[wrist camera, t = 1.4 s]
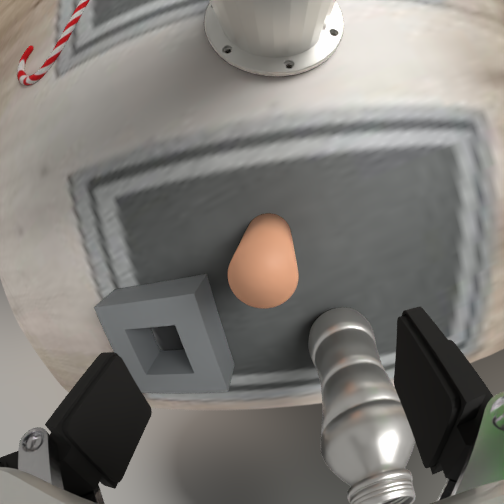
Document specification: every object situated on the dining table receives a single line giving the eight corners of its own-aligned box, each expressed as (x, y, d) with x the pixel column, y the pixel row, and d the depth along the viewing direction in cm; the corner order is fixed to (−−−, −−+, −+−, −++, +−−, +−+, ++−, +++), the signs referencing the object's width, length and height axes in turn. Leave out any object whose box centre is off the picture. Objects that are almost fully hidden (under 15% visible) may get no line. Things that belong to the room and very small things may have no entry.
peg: (241, 218, 26) (220, 250, 16) (286, 209, 25) (291, 236, 15) (251, 260, 27) (236, 312, 17) (294, 252, 26) (303, 302, 17)
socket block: (115, 289, 29) (93, 307, 25) (206, 273, 27) (194, 293, 23) (149, 369, 32) (135, 392, 28) (234, 364, 30) (228, 391, 26)
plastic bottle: (311, 359, 29) (328, 534, 10) (300, 307, 28) (319, 504, 8) (368, 346, 28) (427, 508, 9) (363, 291, 27) (454, 464, 7)
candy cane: (103, -8, 18) (30, 94, 22) (108, -4, 19) (37, 95, 24) (73, -18, 17) (10, 74, 21) (78, -14, 18) (16, 75, 23)
